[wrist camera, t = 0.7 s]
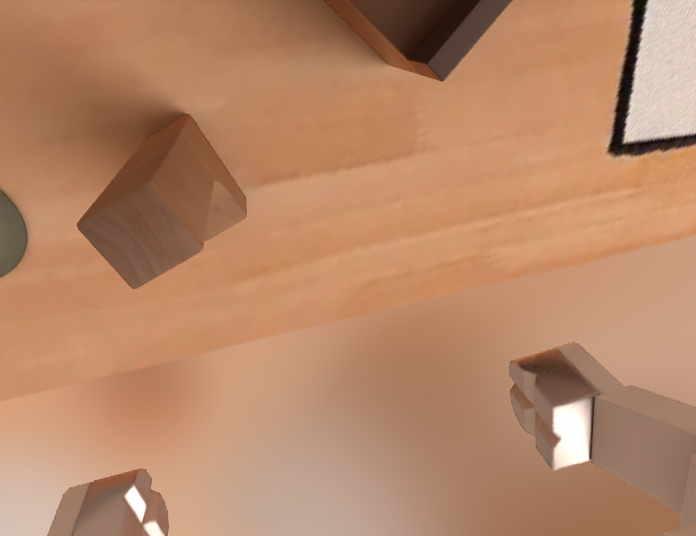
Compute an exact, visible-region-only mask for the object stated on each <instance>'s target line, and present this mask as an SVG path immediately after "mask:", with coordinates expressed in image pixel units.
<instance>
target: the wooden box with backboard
mask: <svg viewBox="0 0 696 536" xmlns="http://www.w3.org/2000/svg"><path fill="white" fill-rule="evenodd" d="M325 1H326V2H327V3H328V4H329V5H330V6H331V7H332V8H333V9H334V10H335V11H336V12H337V13H338V14H339V15H340V16H341V17H342V18H343V19H344V20H345V21H346V22H347V23H348V24H349V25H350V26H351V27H352V28H353V29H354V30H355V31H356V32H357V33H358V34H359V35H360V36H361V37H362V38H363V39H364V40H365V41H366V42H367V43H368V44H369V45H370V46H371V47H372V48H373V49H374V50H375V51H376V52H377V53H378V54H379V55H380V56H381V57H382V58H383V59H384V60H385V61H386V62H387V63H388V64H389V65H390V66H393V67H396V68H400V69H403V70H406V71H410V72H413V73H416V74H420V75H423V76H426V77H429V78H433V79H436V80H440V81H444V80H445V79H446V78H447V77H448V76H449V74H450V73H451V72H452V71H453V70H454V68H455V67H456V66H457V65H458V64H459V63H460V61H461V60H462V59H463V58H464V57H465V56H466V54H467V53H468V52H469V51H470V50H471V48H472V47H473V46H474V45H475V44H476V43H477V41H478V40H479V39H480V38H481V37H482V36H483V34H484V33H485V32H486V31H487V30H488V29H489V27H490V26H491V25H492V24H493V23H494V21H495V20H496V19H497V18H498V17H499V16H500V14H501V13H502V12H503V11H504V10H505V9H506V7H507V6H508V5H509V4H510V3H511V2H512V0H325Z"/></svg>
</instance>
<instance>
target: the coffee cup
mask: <svg viewBox="0 0 696 536" xmlns="http://www.w3.org/2000/svg"><path fill="white" fill-rule="evenodd" d="M26 246H27V231H26V226H25V223H24V221H23V218H22V216H21V214H20V212H19V211H18V209H17V208H16V206H15V205H14V204H13V202H12V201H11V200H10V199H9V198H8V197H7V196H6V195H5V194H4V193H3V192H2V191H1V190H0V277H2V276H4V275H6V274H7V273H9V272H10V271H12V270H13V269H14V268H15V267H16V266H17V265H18V263H19V262H20V261H21V259H22V257H23V255H24V253H25V250H26Z"/></svg>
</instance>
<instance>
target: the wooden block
mask: <svg viewBox="0 0 696 536" xmlns="http://www.w3.org/2000/svg"><path fill="white" fill-rule="evenodd" d="M246 217H247V209H246V197H245V195H244V194H243V192H242V191H241V189H240V188H239V186H238V185H237V183H236V182H235V180H234V179H233V178H232V176H231V175H230V173H229V172H228V170H227V169H226V167H225V166H224V164H223V163H222V161H221V160H220V158H219V157H218V155H217V154H216V152H215V151H214V149H213V148H212V146H211V145H210V143H209V142H208V140H207V139H206V137H205V136H204V135H203V133H202V132H201V130H200V129H199V127H198V126H197V124H196V123H195V121H194V120H193V118H192V117H191V116H190V115H189V114H186V115H184V116H182V117H181V118H179V119H177V120H176V121H174V122H172V123H171V124H169V125H167V126H166V127H164V128H162V129H161V130H159V131H157V132H156V133H154V134H152V135H151V136H149V137H147V138H146V139H145V141H144V142H143V143H142V144H141V146H140V147H139V148H138V149H137V150H136V152H135V153H134V154H133V155H132V157H131V158H130V159H129V160H128V162H127V163H126V164H125V165H124V166H123V168H122V169H121V170H120V171H119V173H118V174H117V175H116V176H115V177H114V179H113V180H112V181H111V182H110V184H109V185H108V186H107V187H106V188H105V190H104V191H103V192H102V193H101V195H100V196H99V197H98V198H97V199H96V201H95V202H94V203H93V204H92V206H91V207H90V208H89V209H88V210H87V212H86V213H85V214H84V215H83V217H82V218H81V219H80V220H79V222H78V223H77V227H78V229H79V230H80V231H81V233H82V234H83V235H84V236H85V237H86V238H87V239H88V240H89V241H90V243H91V244H92V245H93V246H94V247H95V248H96V249H97V250H98V251H99V252H100V254H101V255H102V256H103V257H104V258H105V259H106V260H107V261H108V262H109V264H110V265H111V266H112V267H113V268H114V269H115V270H116V271H117V272H118V274H119V275H120V276H121V277H122V278H123V279H124V280H125V281H126V282H127V284H128V285H129V286H130V287H131V288H133V289H136V288H139V287H141V286H142V285H144V284H146V283H148V282H149V281H151V280H153V279H154V278H156V277H158V276H160V275H161V274H163V273H165V272H167V271H168V270H170V269H172V268H173V267H175V266H177V265H179V264H180V263H182V262H184V261H186V260H187V259H189V258H191V257H193V256H194V255H196V254H198V253H199V252H201V250H202V249H203V245H204V241H207V240H209V239H211V238H212V237H214V236H216V235H218V234H219V233H221V232H223V231H224V230H226V229H228V228H230V227H231V226H233V225H235V224H236V223H238V222H240V221H242V220H243V219H245V218H246Z"/></svg>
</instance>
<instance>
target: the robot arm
mask: <svg viewBox="0 0 696 536" xmlns="http://www.w3.org/2000/svg"><path fill="white" fill-rule="evenodd" d="M509 376H510V377H511V378H512V380H513V381H514V382H515V384H514V385H513V387H512V388H511V390H510V395H511V403H512V406H513V410H514V413H515V415H516V417H517V419H518V421H519V423H520V425H521V426H522V428H523V429H524V431H525V432H527V433H529V434H532V435H534V436H535V437H536V448H537V449H538V450H539V452H540V454H541V455H542V456H543V458H544V459H545V461H546V462H547V463H548V465H549V466H550V468H551V469H552V471H555V470H558V469H562V468H565V467H569V466H573V465H576V464H580V463H584V462H587V461H591V463H593V464H595V465H596V466H598V467H600V468H601V469H603V470H605V471H607V472H608V473H610V474H612V475H613V476H615V477H617V478H619V479H621V480H622V481H624V482H625V483H627V484H629V485H631V486H632V487H634V488H636V489H638V490H639V491H641V492H643V493H644V494H646V495H648V496H649V497H651V498H653V499H655V500H656V501H658V502H660V503H662V504H663V505H665V506H667V507H669V508H670V509H672V510H674V511H675V512H677V513H679V514H680V516H679V522H678V527H677V529H675V530H671V531H668V532H666V533H662V534H659V535H656V536H696V407H694V406H691V405H688V404H685V403H682V402H679V401H676V400H673V399H671V398H668V397H665V396H662V395H659V394H656V393H653V392H650V391H647V390H644V389H641V388H638V387H635V386H632V385H631V386H627V387H625V386H624V385H622V384H621V383H620V382H619V381H618V380H617V379H616V378H615V377H614V376H613V375H612V374H611V373H609V372H608V371H607V370H606V369H605V368H604V367H603V366H602V365H601V364H600V363H599V362H598V361H597V360H596V359H595V358H594V357H592V356H591V355H590V354H589V353H588V352H587V351H586V350H585V349H584V348H583V347H582V346H581V345H579V344H578V343H575V342H572V343H568V344H565V345H562V346H559V347H556V348H553V349H549V350H546V351H543V352H540V353H536V354H533V355H529V356H526V357H523V358H520V359H516V360H513V361H511V362H510V365H509ZM151 483H152V478H151V477H150V475H149V474H148V472H147V471H146V469H137V470H133V471H130V472H126V473H122V474H118V475H114V476H111V477H107V478H103V479H99V480H95V481H93V482H90V483H86V484H82V485H78V486H75V487H71V488H69V489H68V490H67V491H66V492H65V493H64V494H63V497H62V499H61V502H60V504H59V507H58V509H57V512H56V515H55V517H54V520H53V522H52V525H51V527H50V530H49V533H48V535H47V536H168V529H169V523H168V511H167V508H166V505H165V502H164V500H163V498H162V496H161V494H160V493H158V492H156V491H153V490H151Z"/></svg>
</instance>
